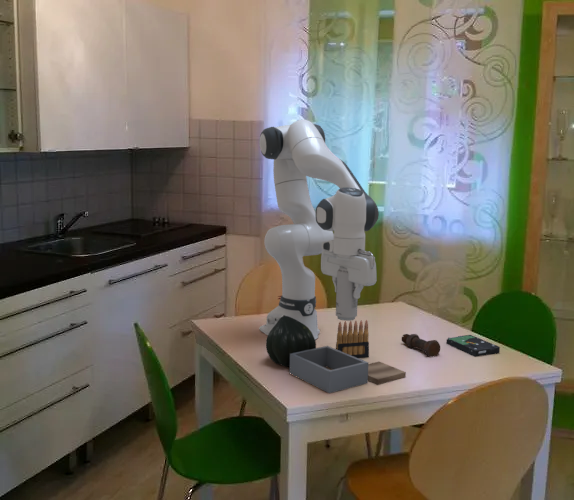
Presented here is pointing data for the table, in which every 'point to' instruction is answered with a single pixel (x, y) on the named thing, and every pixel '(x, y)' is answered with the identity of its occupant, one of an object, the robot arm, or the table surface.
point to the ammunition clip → (353, 340)
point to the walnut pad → (383, 373)
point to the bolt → (422, 344)
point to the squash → (288, 340)
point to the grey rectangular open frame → (342, 376)
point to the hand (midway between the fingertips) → (347, 295)
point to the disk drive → (473, 345)
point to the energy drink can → (345, 296)
